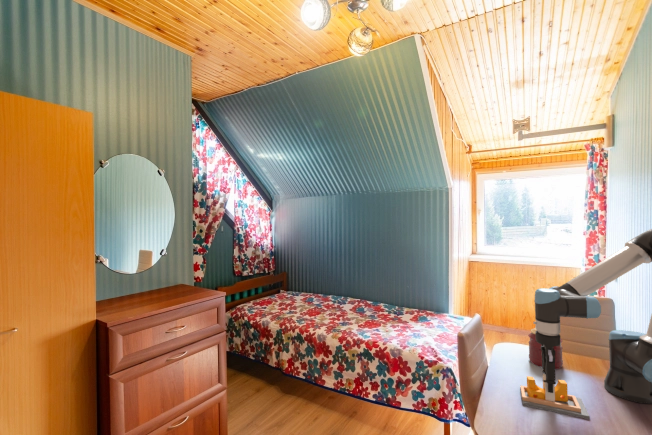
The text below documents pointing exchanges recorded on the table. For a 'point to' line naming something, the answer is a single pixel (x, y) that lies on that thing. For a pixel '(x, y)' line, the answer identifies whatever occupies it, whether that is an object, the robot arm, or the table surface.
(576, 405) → the holder board
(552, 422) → the table surface
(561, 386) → the pipe clamp
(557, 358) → the canister
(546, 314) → the robot arm
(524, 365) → the table surface
